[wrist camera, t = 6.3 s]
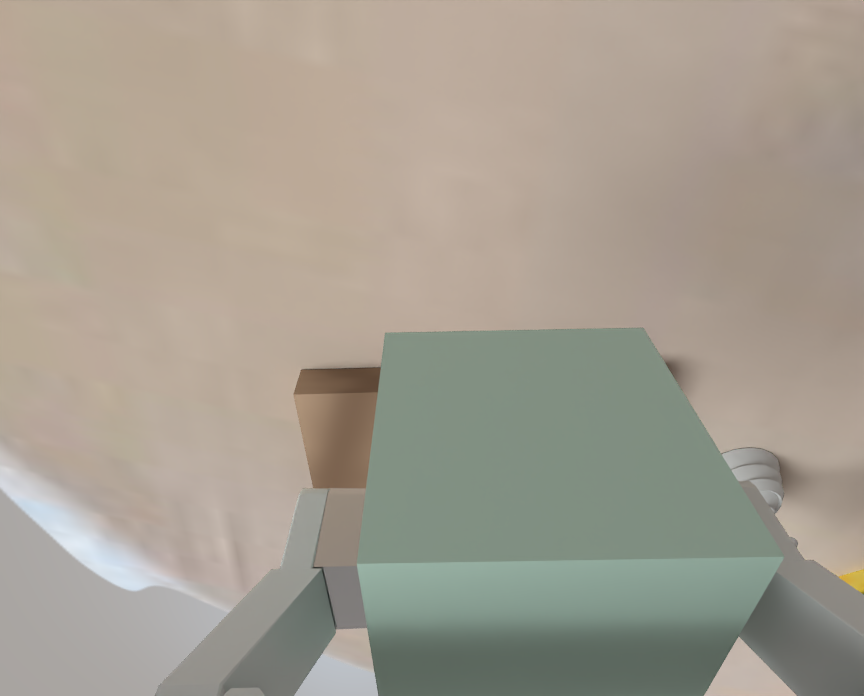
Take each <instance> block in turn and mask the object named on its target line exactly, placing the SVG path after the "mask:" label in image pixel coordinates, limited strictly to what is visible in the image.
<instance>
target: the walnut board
mask: <svg viewBox="0 0 864 696" xmlns="http://www.w3.org/2000/svg"><path fill="white" fill-rule="evenodd" d="M380 371H381V368H354V369H318V370H301V372H300V375H299V379H298V382H297V385H296V388H295V392H294V399H295V404H296V409H297V413H298V418H299V423H300V427H301V432H302V437H303V442H304V446H305V451H306V456H307V461H308V465H309V470H310V475H311V479H312V484H313V488H366V484H367V476H368V468H369V460H370V452H371V444H372V436H373V428H374V419H375V411H376V403H377V395H378V387H379V379H380Z"/></svg>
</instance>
